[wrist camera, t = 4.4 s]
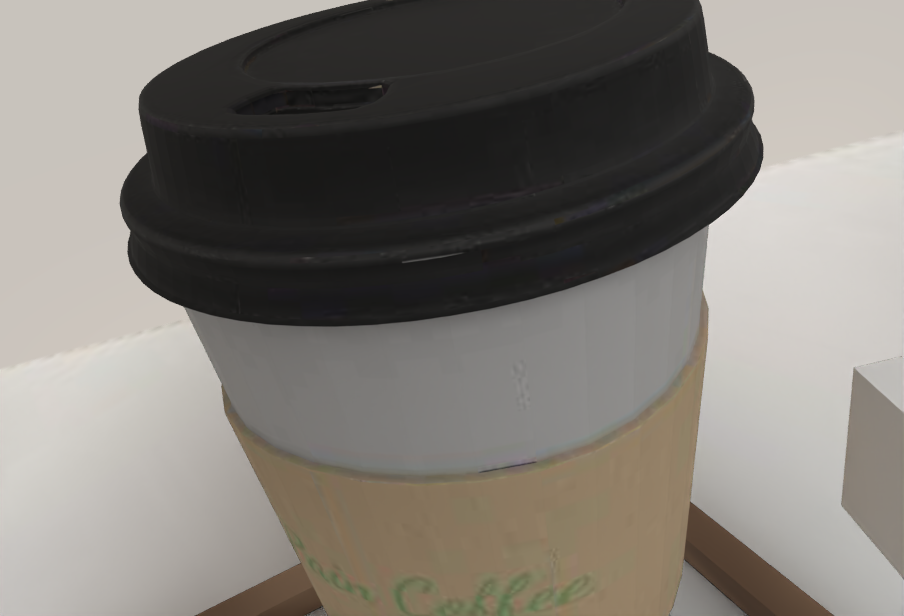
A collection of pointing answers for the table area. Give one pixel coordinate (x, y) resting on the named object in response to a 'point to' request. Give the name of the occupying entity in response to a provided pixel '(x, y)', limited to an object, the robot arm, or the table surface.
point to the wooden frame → (706, 548)
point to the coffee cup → (455, 287)
